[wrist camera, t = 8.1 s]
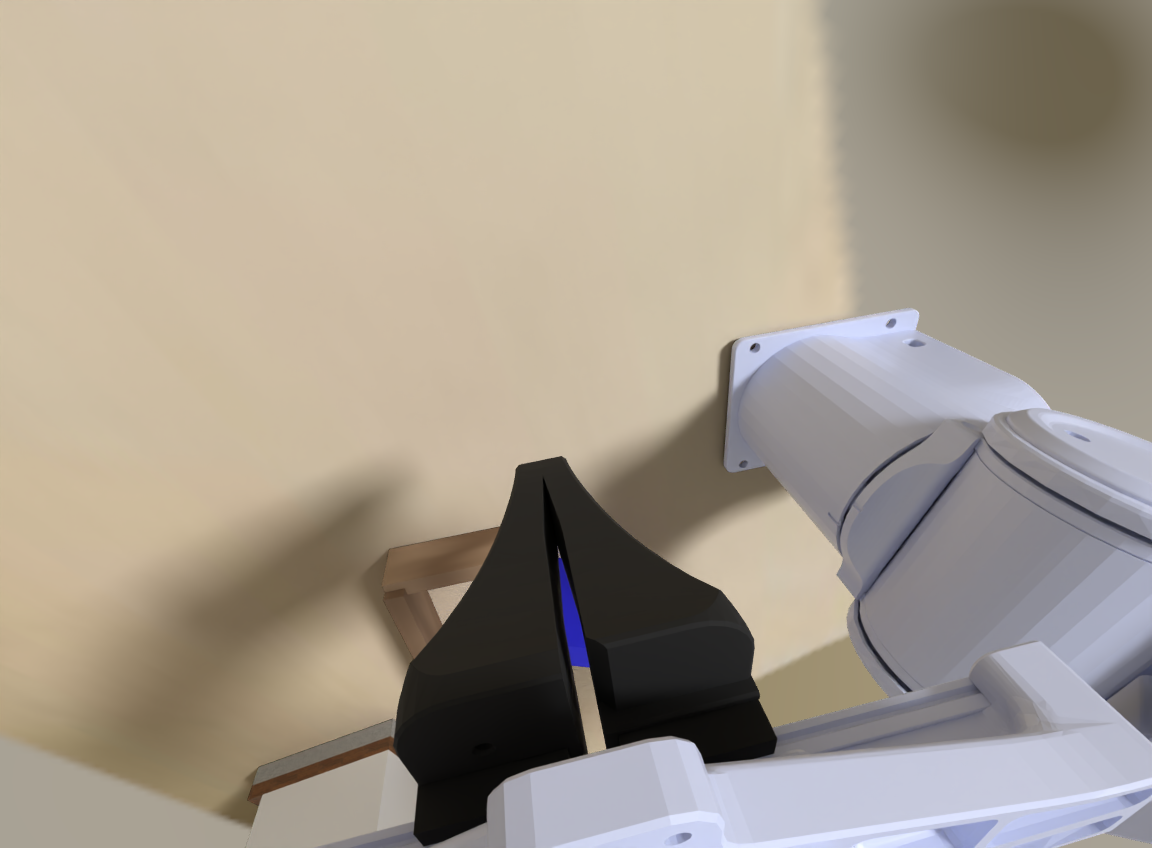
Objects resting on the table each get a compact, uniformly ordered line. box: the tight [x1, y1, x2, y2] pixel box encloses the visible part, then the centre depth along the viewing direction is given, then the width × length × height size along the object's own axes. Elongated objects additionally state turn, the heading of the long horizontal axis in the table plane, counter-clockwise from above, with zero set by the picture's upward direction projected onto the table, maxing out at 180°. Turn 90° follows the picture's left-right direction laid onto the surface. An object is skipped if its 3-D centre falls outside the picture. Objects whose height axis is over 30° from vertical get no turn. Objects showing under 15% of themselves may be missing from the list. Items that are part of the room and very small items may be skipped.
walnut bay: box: [382, 527, 500, 659], centre depth 30 cm, size 7×18×3 cm, turn 7°
